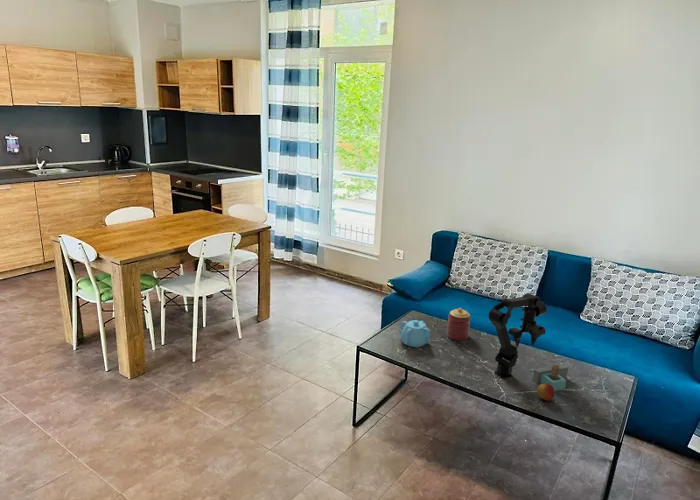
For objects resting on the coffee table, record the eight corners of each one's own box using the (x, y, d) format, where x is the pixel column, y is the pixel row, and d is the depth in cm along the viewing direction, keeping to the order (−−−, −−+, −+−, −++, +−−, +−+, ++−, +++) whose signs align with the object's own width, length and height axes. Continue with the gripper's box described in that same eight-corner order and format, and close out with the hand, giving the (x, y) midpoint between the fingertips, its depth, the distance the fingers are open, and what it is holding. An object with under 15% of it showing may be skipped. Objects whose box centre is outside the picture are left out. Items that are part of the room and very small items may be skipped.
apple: (555, 399, 229) (558, 384, 227) (549, 406, 223) (552, 390, 221) (539, 392, 234) (542, 377, 231) (532, 399, 228) (535, 384, 226)
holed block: (551, 391, 235) (552, 382, 234) (540, 383, 243) (541, 374, 241) (564, 389, 238) (566, 380, 236) (553, 380, 245) (554, 371, 244)
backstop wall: (536, 383, 242) (538, 372, 240) (532, 380, 245) (534, 369, 243) (566, 378, 248) (568, 367, 246) (562, 375, 250) (563, 364, 249)
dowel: (552, 386, 238) (555, 368, 235) (548, 383, 241) (551, 365, 238) (557, 385, 239) (560, 367, 236) (553, 382, 242) (556, 364, 239)
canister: (472, 339, 286) (476, 311, 281) (452, 341, 282) (455, 313, 277) (461, 330, 297) (464, 302, 293) (442, 332, 294) (445, 304, 289)
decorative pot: (398, 336, 286) (399, 314, 282) (425, 336, 287) (427, 315, 283) (402, 349, 271) (403, 327, 267) (431, 350, 271) (433, 327, 268)
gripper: (523, 326, 239) (519, 355, 243) (555, 322, 245) (550, 351, 249) (509, 317, 249) (505, 345, 253) (540, 313, 255) (535, 341, 259)
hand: (524, 346), depth 254 cm, fingers open, 9 cm apart
